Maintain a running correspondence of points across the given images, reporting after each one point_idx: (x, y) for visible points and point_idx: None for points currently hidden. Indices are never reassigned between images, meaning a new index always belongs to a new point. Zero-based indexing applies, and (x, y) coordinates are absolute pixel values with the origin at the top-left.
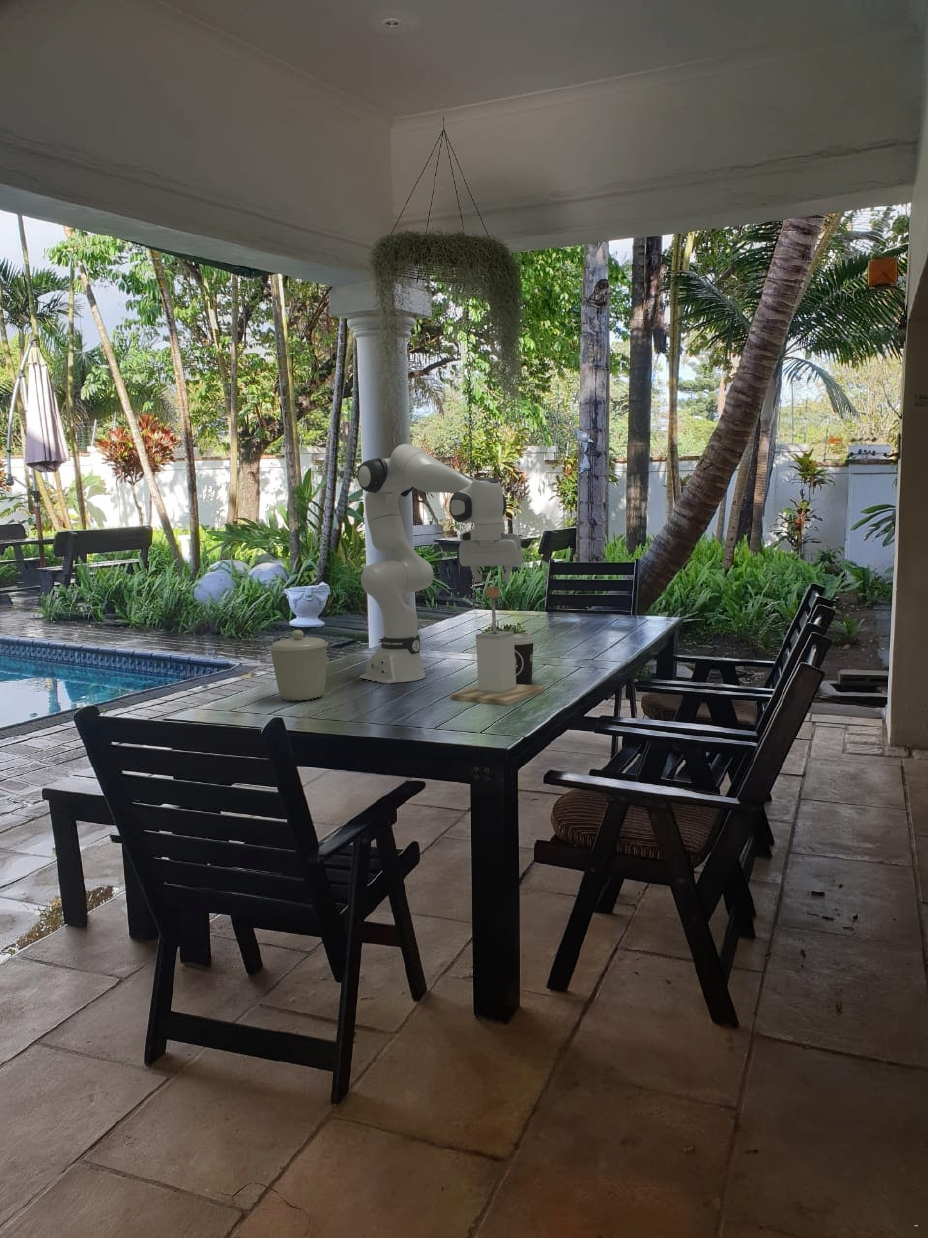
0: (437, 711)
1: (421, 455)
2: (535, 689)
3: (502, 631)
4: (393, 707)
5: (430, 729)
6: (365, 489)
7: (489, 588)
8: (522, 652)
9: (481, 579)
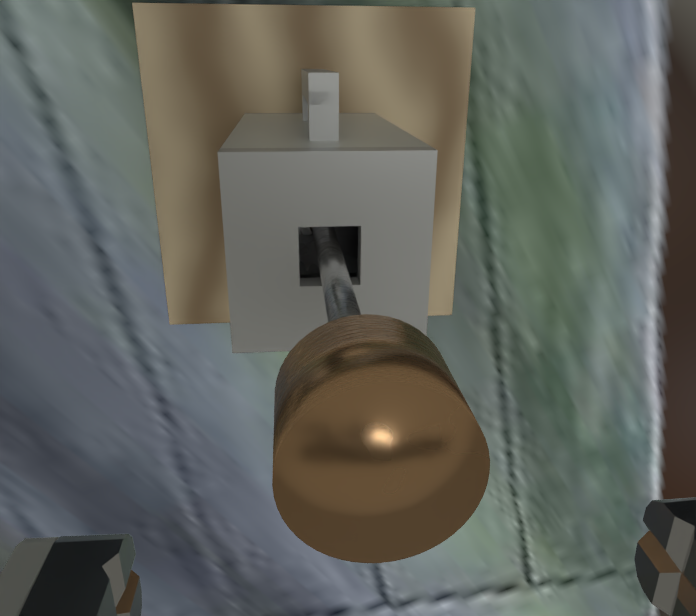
0: (258, 467)
1: None
2: (466, 91)
3: (336, 156)
4: (66, 486)
5: (382, 613)
6: None
7: (392, 555)
8: None
9: (123, 569)
